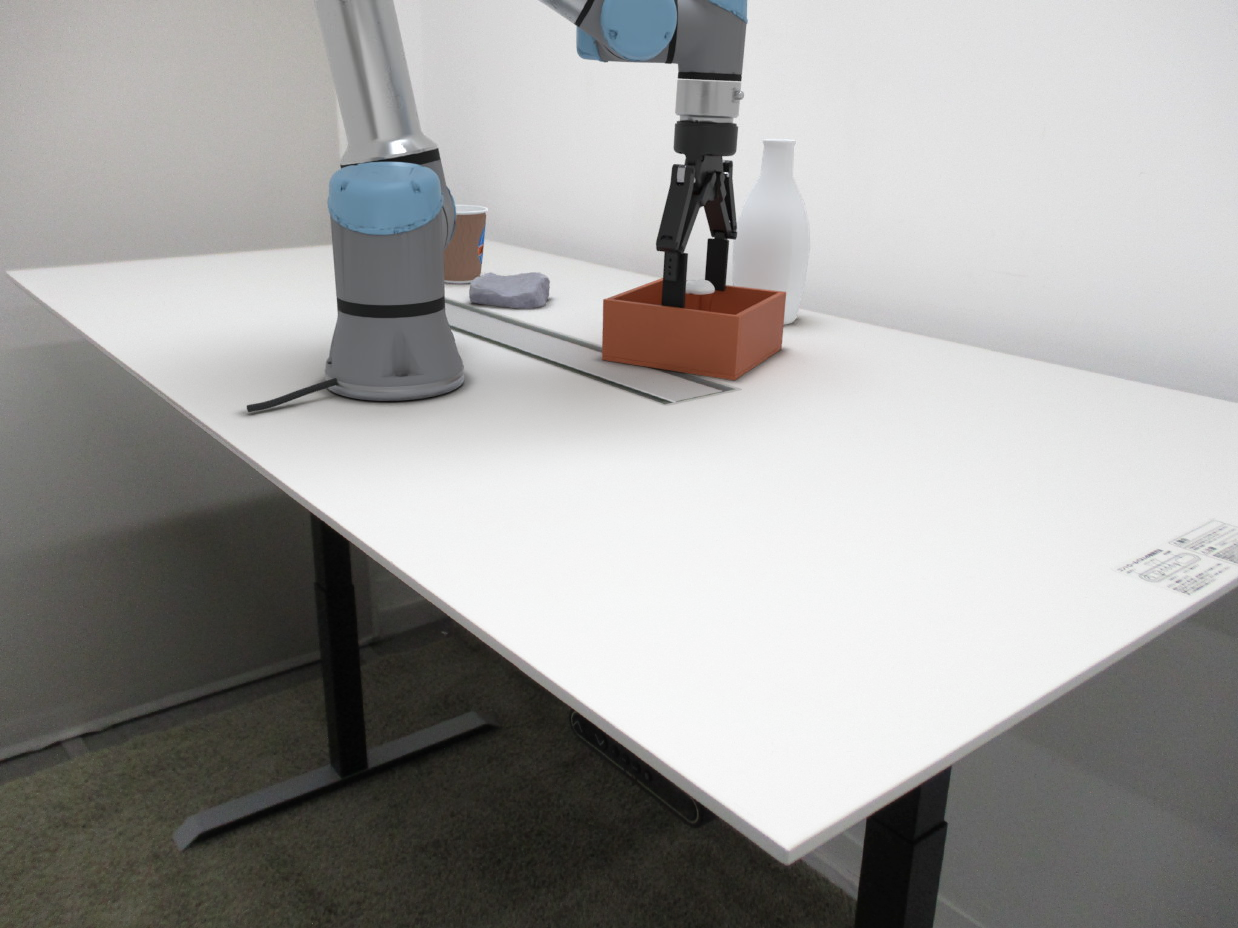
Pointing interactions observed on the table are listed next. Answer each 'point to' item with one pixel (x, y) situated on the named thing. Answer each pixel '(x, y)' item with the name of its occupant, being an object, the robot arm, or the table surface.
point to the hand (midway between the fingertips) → (694, 298)
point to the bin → (694, 331)
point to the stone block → (511, 290)
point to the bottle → (774, 230)
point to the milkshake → (699, 295)
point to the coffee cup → (465, 245)
